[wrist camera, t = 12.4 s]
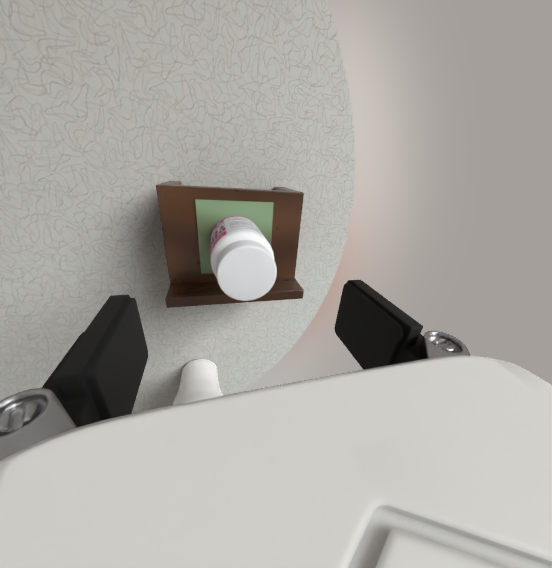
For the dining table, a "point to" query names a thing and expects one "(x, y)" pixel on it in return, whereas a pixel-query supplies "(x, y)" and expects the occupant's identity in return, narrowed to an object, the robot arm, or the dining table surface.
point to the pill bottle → (242, 259)
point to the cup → (198, 382)
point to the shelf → (198, 229)
